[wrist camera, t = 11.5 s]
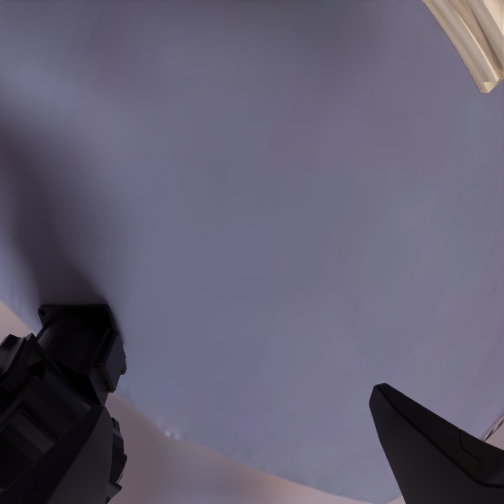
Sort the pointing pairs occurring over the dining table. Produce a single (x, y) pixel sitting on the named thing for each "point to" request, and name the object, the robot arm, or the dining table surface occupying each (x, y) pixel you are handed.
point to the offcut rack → (475, 36)
